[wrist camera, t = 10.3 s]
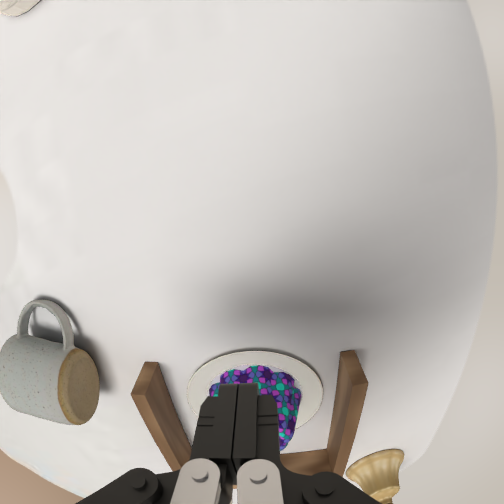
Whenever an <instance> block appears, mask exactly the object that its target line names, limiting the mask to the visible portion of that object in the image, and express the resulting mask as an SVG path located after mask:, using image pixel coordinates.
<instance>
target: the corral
mask: <svg viewBox="0 0 504 504" xmlns="http://www.w3.org/2000/svg"><path fill="white" fill-rule="evenodd" d="M367 387H368V381H367V378H366V376H365V374H364V371H363V369H362V367H361V364H360V362H359V360H358V357H357V355H356V353H355V350H351V351H344V352H340V360H339V369H338V378H337V386H336V394H335V401H334V408H333V415H332V421H331V427H330V433H329V439H328V445H327V449H323V450H316V451H308V452H300V453H289V454H280V461H281V463H282V464H283V466H284V467H285V468H286V469H288V470H290V471H292V472H294V473H298V474H303V475H309V476H312V475H314V474H316V473H319V472H326V471H327V472H333V473H336V474H338V475H340V476H341V477H343V474H344V471H345V468H346V465H347V462H348V458H349V455H350V452H351V449H352V445H353V442H354V439H355V435H356V431H357V428H358V424H359V420H360V416H361V412H362V408H363V404H364V400H365V396H366V391H367ZM131 396H132V398H133V400H134V402H135V404H136V406H137V408H138V410H139V412H140V414H141V416H142V418H143V420H144V422H145V424H146V426H147V428H148V430H149V431H150V433H151V435H152V437H153V439H154V440H155V442H156V444H157V446H158V447H159V449H160V451H161V453H162V454H163V456H164V458H165V459H166V461H167V463H168V464H169V466H170V467H171V469H172V471H177V470H179V469H181V468H182V467H183V465H184V464H186V463H187V462H188V461H189V459H190V456H191V451H192V448H191V446H190V444H189V442H188V439H187V437H186V435H185V432H184V430H183V428H182V425H181V423H180V420H179V418H178V416H177V413H176V411H175V408H174V406H173V403H172V400H171V398H170V395H169V393H168V390H167V387H166V384H165V382H164V379H163V376H162V373H161V370H160V368H159V365H158V362H145V363H144V365H143V367H142V370H141V372H140V374H139V376H138V379H137V381H136V383H135V385H134V388H133V390H132V392H131ZM233 489H237V485H233Z"/></svg>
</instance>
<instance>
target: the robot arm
mask: <svg viewBox="0 0 504 504" xmlns="http://www.w3.org/2000/svg"><path fill="white" fill-rule="evenodd" d="M233 485H237V504H382V503H380V502H378V501H377V500H375V499H374V498H372V497H371V496H369V495H368V494H366V493H365V492H363V491H362V490H360V489H359V488H357V487H356V486H354V485H353V484H351V483H350V482H348V481H347V480H346V479H344V478H343V477H341V476H340V475H338V474H336V473H333V472H327V471H326V472H319V473H316V474H314V475H312V476H309V475H303V474H298V473H294V472H292V471H290V470H288V469H286V468H285V467H284V466H283V464H282V463H281V461H280V442H279V421H278V408H277V403H276V401H275V399H274V398H273V396H272V395H271V394H270V395H260V394H259V386H258V382H257V383H240V384H238V383H236V384H220V386H219V391H218V396H208V397H207V398H206V399H205V401H204V402H203V403H202V405H201V407H200V412H199V418H198V421H197V427H196V431H195V436H194V441H193V446H192V451H191V456H190V459H189V461H188V462H187V463H186V464H184V465H183V467H182V468H181V469H179V470H177V471H173V472H168V473H162V474H154V473H153V472H152V471H150V470H148V469H145V468H135V469H132V470H130V471H128V472H127V473H125V474H124V475H122V476H120V477H119V478H117V479H116V480H114V481H113V482H111V483H109V484H108V485H106V486H105V487H103V488H101V489H100V490H98V491H96V492H95V493H93V494H91V495H90V496H88V497H86V498H85V499H83V500H81V501H79V502H78V503H76V504H232V491H233Z"/></svg>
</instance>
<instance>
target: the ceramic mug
mask: <svg viewBox="0 0 504 504" xmlns="http://www.w3.org/2000/svg"><path fill="white" fill-rule="evenodd" d="M35 307H43V308H46V309H47V310H48V311H50V312H51V313H52V314H54V316H55V317H56V318H57V319H58V322H59V324H60V326H61V331H62V336H63V343H57V342H52V341H49V340H46V339H42V338H38V337H34V336H31V335H28V324H29V319H30V315H31V313H32V311H33V309H34V308H35ZM99 389H100V386H99V376H98V371H97V368H96V366H95V363H94V361H93V360H92V358H91V357H90V356H89V354H88V353H87V352H85V351H84V350H82V349H79V348H77V347H75V346H74V335H73V330H72V327H71V324H70V320H69V318H68V316H67V314H66V313H65V311H64V310H63V309H62V308H61V307H60V306H59V305H57V304H56V303H54V302H52V301H49V300H33V301H31V302H29V303H28V304H26V306H25V307H24V308H23V310H22V312H21V314H20V317H19V321H18V327H17V334H16V335H14V336H12V337H10V338H9V339H8V340H7V341H6V342H5V344H4V345H3V347H2V349H1V351H0V392H1V394H2V397H3V399H4V400H5V402H6V403H7V404H8V405H9V406H10V407H11V408H12V409H14V410H16V411H18V412H22V413H25V414H29V415H32V416H35V417H38V418H42V419H46V420H50V421H53V422H57V423H62V424H67V425H81V424H84V423H86V422H87V421H89V420H90V418H91V417H92V416H93V414H94V413H95V410H96V408H97V405H98V400H99Z"/></svg>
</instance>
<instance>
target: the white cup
mask: <svg viewBox="0 0 504 504" xmlns="http://www.w3.org/2000/svg"><path fill="white" fill-rule="evenodd" d="M39 1H40V0H0V14H3V15H7V16H15V17H17V16H19V15H21V14H23V13H25V12H27V11H29V10H30V9H31V8H32V7H33V6H34V5H36V4H37V3H38V2H39Z"/></svg>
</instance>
